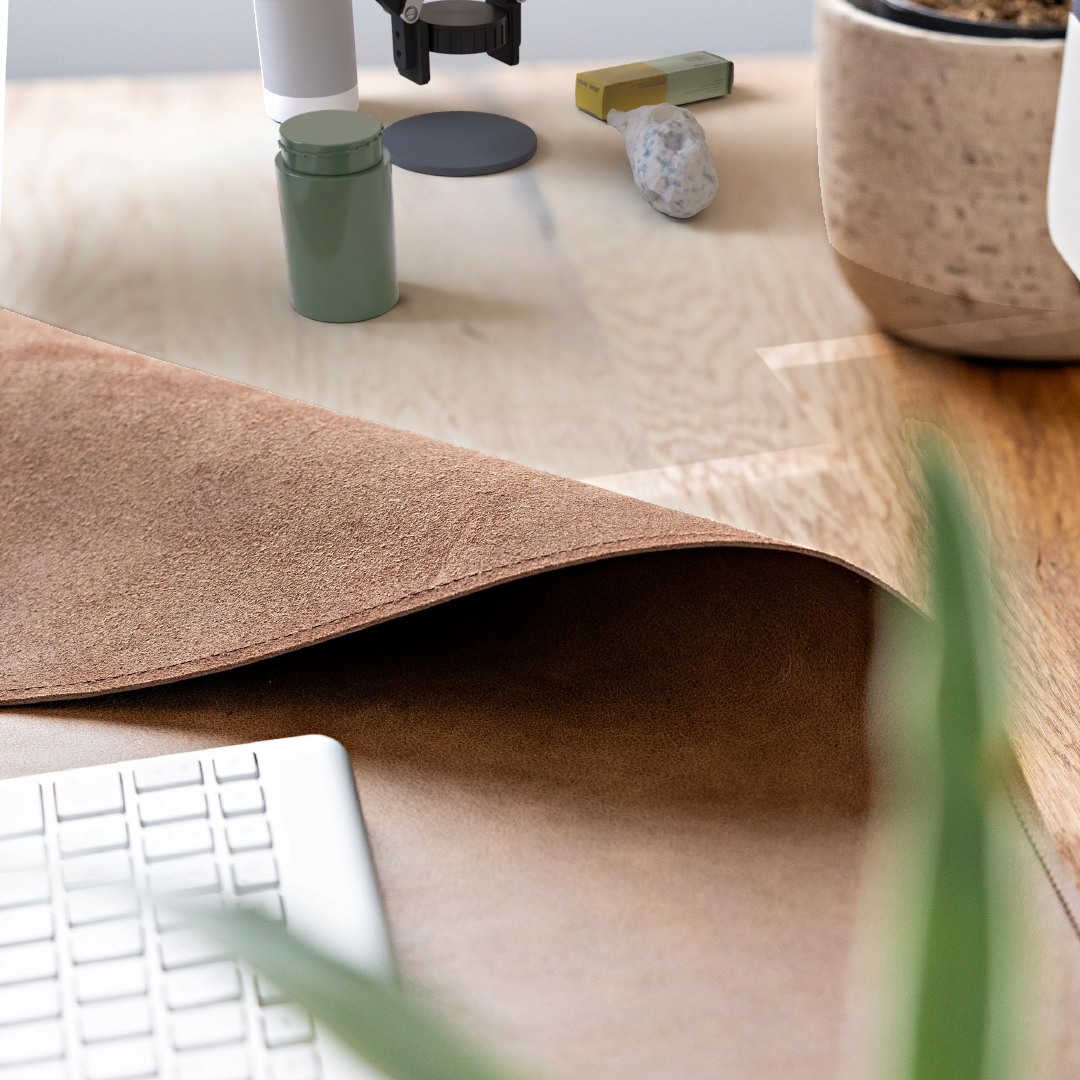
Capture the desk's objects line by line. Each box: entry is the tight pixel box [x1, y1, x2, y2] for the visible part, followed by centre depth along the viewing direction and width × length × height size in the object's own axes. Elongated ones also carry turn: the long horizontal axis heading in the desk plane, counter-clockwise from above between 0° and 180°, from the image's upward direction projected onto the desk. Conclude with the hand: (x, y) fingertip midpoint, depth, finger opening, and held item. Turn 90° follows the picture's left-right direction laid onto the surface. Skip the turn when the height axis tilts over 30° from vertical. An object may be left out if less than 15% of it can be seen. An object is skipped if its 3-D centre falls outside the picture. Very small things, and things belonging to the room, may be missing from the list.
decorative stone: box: [606, 103, 720, 219], centre depth 83 cm, size 13×7×5 cm, turn 12°
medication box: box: [574, 50, 735, 121], centre depth 97 cm, size 12×3×4 cm
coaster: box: [382, 110, 538, 177], centre depth 90 cm, size 11×11×1 cm
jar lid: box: [420, 0, 508, 56], centre depth 85 cm, size 6×6×2 cm
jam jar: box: [273, 110, 400, 324], centre depth 68 cm, size 6×6×10 cm
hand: (459, 67), depth 87 cm, fingers closed on jar lid, 6 cm apart
